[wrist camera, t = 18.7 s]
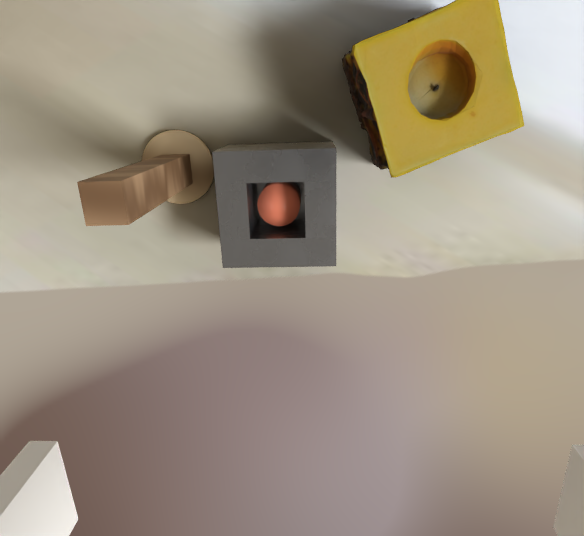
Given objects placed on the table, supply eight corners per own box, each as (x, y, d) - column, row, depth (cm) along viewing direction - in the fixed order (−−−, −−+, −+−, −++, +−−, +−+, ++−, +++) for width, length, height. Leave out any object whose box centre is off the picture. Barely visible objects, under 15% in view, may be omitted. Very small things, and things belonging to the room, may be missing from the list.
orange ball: (261, 177, 43) (255, 184, 39) (300, 176, 43) (299, 183, 39) (263, 216, 44) (258, 226, 40) (301, 215, 44) (300, 225, 40)
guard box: (227, 144, 43) (212, 151, 36) (332, 141, 42) (336, 148, 35) (235, 244, 46) (222, 267, 39) (333, 242, 45) (336, 266, 39)
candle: (373, 166, 43) (390, 183, 33) (338, 59, 40) (345, 45, 30) (479, 125, 41) (528, 132, 32) (451, 10, 38) (495, -21, 29)
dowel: (160, 154, 43) (77, 181, 28) (189, 153, 42) (121, 180, 27) (164, 184, 44) (86, 225, 29) (192, 183, 43) (128, 224, 28)
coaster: (138, 131, 43) (136, 131, 42) (210, 128, 42) (209, 128, 42) (149, 203, 45) (147, 204, 44) (217, 201, 45) (216, 203, 44)
